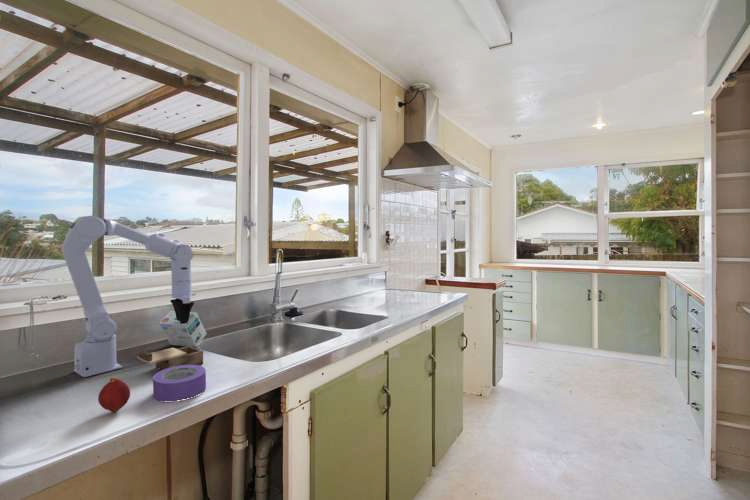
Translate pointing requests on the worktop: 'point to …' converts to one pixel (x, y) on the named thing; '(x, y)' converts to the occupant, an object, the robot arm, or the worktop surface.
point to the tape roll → (179, 382)
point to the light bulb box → (183, 330)
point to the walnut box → (183, 359)
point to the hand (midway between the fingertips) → (182, 321)
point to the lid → (159, 355)
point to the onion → (114, 395)
